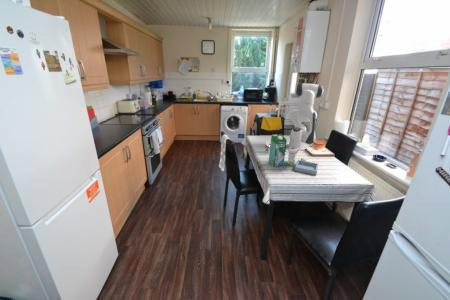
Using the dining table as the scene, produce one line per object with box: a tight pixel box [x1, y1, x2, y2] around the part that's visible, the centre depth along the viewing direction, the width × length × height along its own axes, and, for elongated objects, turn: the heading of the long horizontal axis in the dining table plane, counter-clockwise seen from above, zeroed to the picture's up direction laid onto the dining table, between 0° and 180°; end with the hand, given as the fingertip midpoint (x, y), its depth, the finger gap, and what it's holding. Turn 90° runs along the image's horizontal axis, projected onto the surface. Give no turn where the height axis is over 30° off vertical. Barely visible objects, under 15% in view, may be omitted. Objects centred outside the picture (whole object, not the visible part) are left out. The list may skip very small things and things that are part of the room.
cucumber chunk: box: [288, 158, 296, 167], centre depth 172 cm, size 4×4×5 cm
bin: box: [294, 159, 319, 176], centre depth 165 cm, size 16×16×4 cm
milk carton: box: [268, 133, 288, 168], centre depth 169 cm, size 9×9×25 cm
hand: (291, 163), depth 172 cm, fingers closed on cucumber chunk, 4 cm apart
